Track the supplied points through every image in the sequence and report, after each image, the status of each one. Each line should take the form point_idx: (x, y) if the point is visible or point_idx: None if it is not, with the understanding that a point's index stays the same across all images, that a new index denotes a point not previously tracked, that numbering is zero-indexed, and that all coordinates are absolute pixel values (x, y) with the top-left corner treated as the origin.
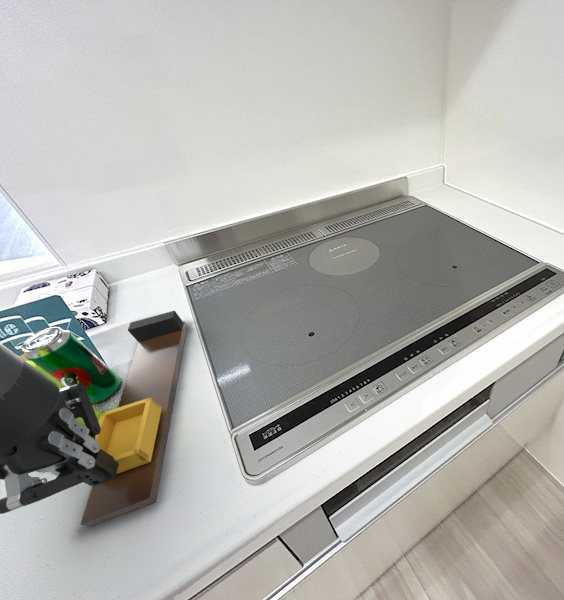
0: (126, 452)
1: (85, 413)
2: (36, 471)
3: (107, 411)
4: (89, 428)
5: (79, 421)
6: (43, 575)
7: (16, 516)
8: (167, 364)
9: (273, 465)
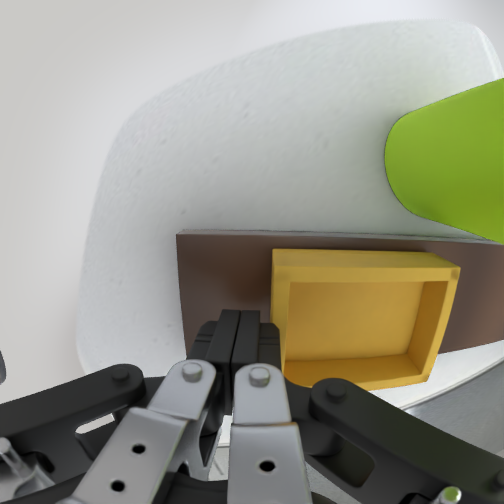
0: (316, 320)
1: (360, 501)
2: (123, 418)
3: (455, 284)
4: (315, 465)
5: (461, 225)
6: (124, 170)
7: (277, 58)
8: (501, 326)
9: None
